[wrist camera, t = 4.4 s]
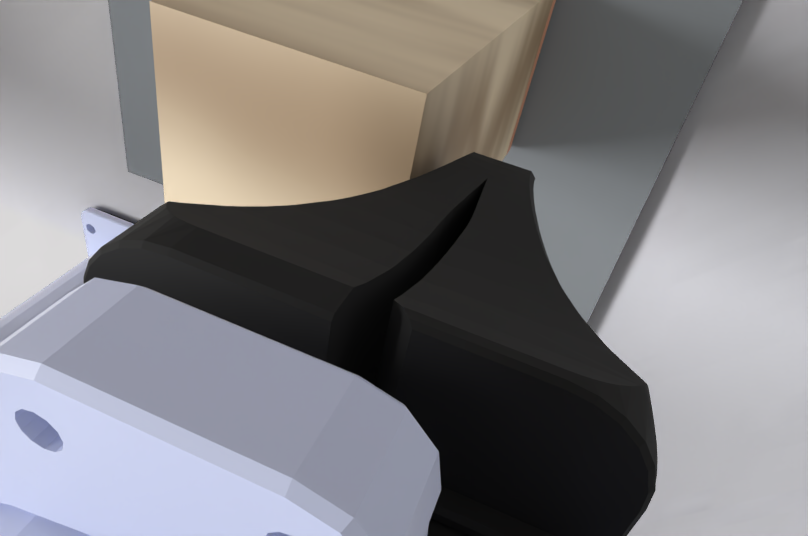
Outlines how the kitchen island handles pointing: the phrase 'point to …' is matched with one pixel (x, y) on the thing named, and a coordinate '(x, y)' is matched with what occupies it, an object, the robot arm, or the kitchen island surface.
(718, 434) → the kitchen island surface
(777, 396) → the kitchen island surface
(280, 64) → the beech block
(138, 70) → the rubber mat
